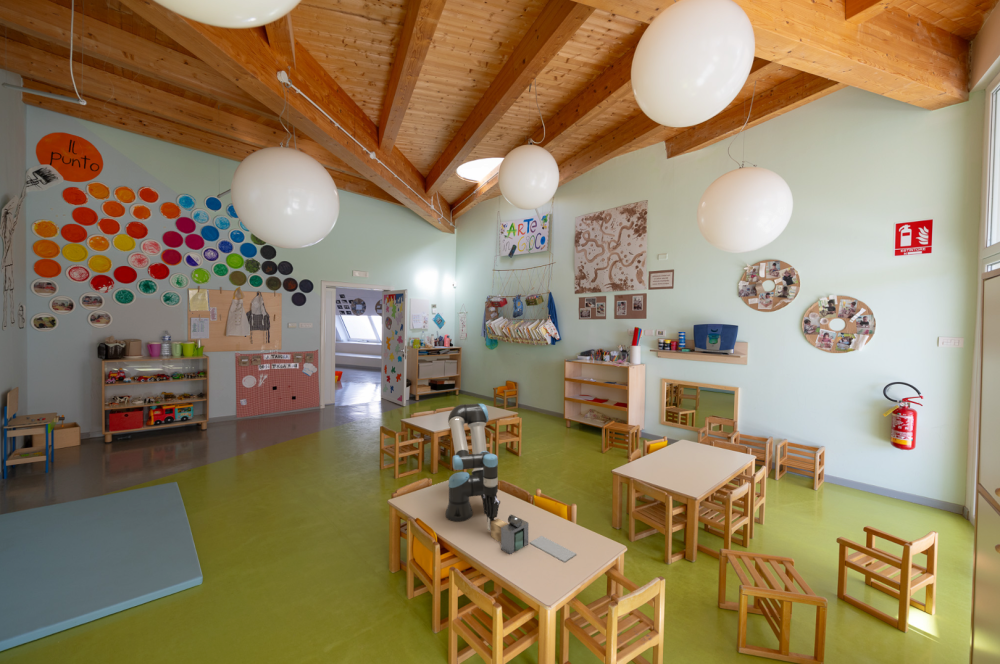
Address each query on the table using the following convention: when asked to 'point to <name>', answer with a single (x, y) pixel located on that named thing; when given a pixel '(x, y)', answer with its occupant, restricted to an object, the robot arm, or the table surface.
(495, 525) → the plug
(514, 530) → the housing
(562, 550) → the mat
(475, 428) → the robot arm
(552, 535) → the table surface
